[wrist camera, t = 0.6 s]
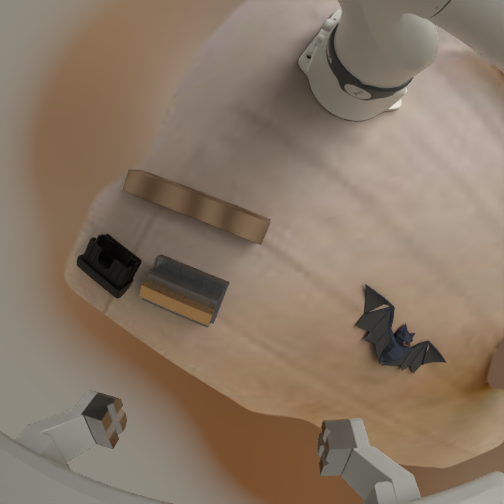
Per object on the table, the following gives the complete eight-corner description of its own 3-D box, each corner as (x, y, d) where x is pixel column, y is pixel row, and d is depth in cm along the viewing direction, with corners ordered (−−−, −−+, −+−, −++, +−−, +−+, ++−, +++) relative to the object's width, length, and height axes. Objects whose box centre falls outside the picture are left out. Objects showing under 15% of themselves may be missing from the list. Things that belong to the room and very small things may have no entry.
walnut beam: (135, 188, 49) (122, 190, 45) (141, 170, 49) (129, 169, 44) (262, 238, 50) (261, 244, 45) (270, 219, 49) (269, 223, 44)
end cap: (91, 260, 53) (72, 270, 47) (105, 231, 52) (85, 238, 45) (129, 290, 54) (112, 304, 47) (144, 262, 52) (128, 273, 46)
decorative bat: (331, 329, 48) (371, 284, 47) (326, 320, 52) (363, 278, 51) (420, 398, 51) (452, 364, 49) (413, 388, 55) (443, 356, 53)
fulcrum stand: (161, 254, 52) (143, 267, 44) (229, 282, 52) (221, 299, 44) (150, 293, 53) (132, 310, 46) (214, 320, 54) (205, 341, 46)
